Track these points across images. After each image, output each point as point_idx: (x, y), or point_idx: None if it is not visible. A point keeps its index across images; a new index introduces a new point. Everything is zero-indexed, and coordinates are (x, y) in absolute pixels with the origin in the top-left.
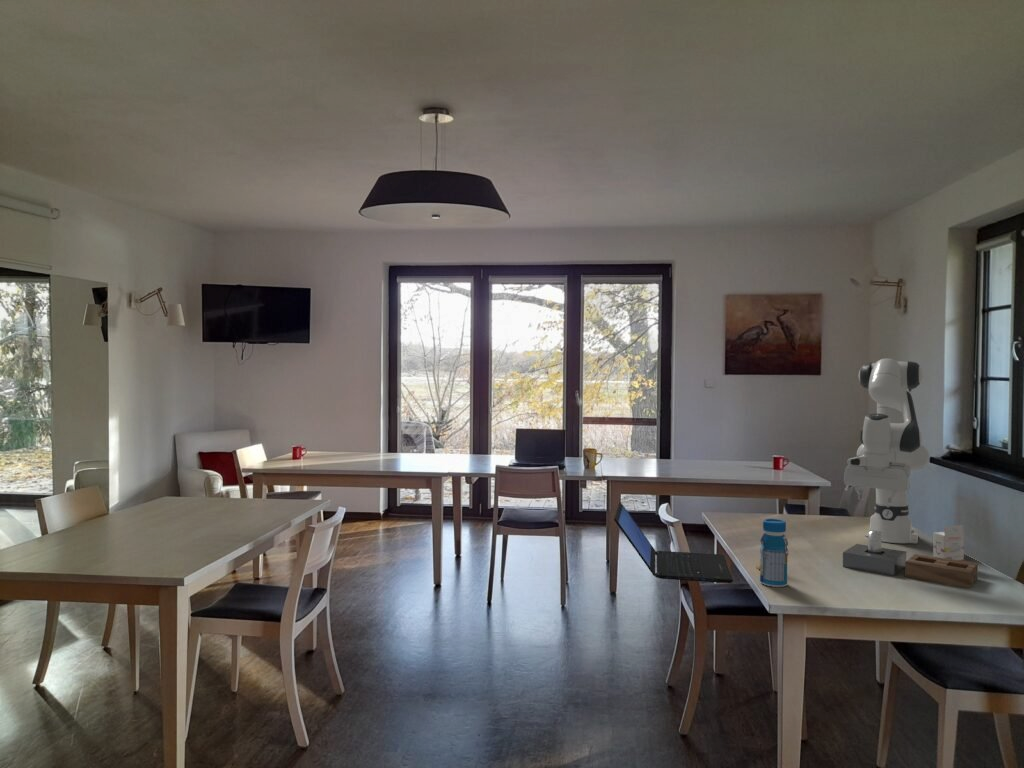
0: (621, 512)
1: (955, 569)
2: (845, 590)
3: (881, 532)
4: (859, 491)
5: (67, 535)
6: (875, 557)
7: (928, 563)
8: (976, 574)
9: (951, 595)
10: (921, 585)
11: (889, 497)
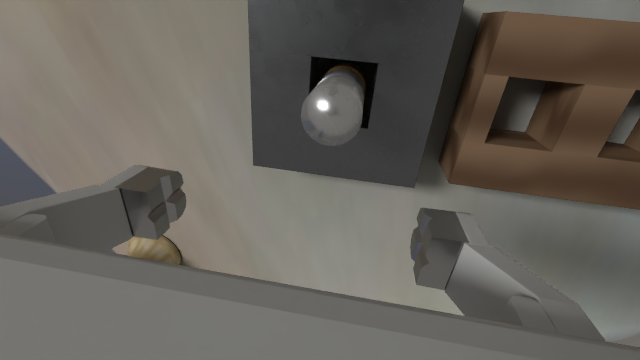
0: None
1: (615, 198)
2: None
3: (361, 116)
4: (83, 222)
5: None
6: (354, 179)
7: (530, 165)
8: None
9: (538, 264)
10: (476, 219)
11: (434, 249)
